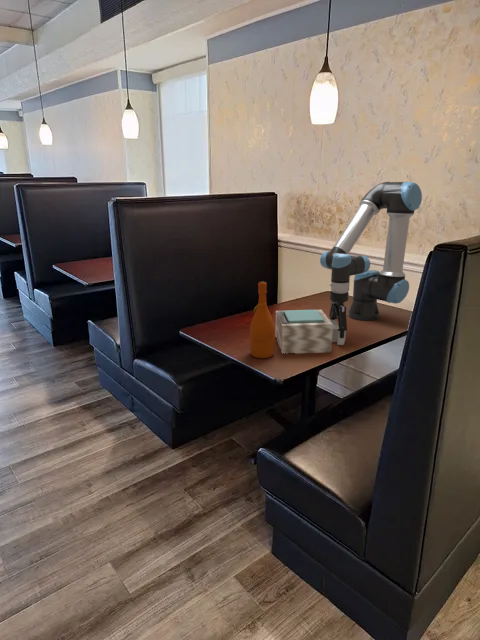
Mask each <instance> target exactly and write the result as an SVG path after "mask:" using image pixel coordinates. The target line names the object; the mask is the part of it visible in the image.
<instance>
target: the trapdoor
mask: <svg viewBox="0 0 480 640" xmlns="http://www.w3.org/2000/svg"><path fill="white" fill-rule="evenodd" d="M317 310H318V309H295V310H294V309H292V310H291V309H290V310H289V309H288V310H287V309H286V310H283V311H284V314H285V316H286V318H287V320H288V322H289V323H311V322H324V320H323V318H322V317H321V316H320V314H319V313H318V312H317Z"/></svg>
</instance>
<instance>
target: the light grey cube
mask: <svg viewBox="0 0 480 640" xmlns="http://www.w3.org/2000/svg"><path fill="white" fill-rule="evenodd" d="M342 328H343V327H342ZM338 329H339V325H338V323H337V324H333V329H332V343H337V341H338ZM346 337H347V331H345V338H344V343H345V342H346Z"/></svg>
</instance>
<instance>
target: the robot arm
mask: <svg viewBox="0 0 480 640" xmlns="http://www.w3.org/2000/svg"><path fill="white" fill-rule="evenodd" d="M422 194H423V193H422V189H421V187H420V186H419V185H418V184H417V183H416V182H412V181H410V182H409V181H383V182H380V183H378V184H377V185H375V186H373V187H372V188H371V189H370V190H369V191H367V193H366V194H365V195H364V196H363V198H362V199H361V201H360V202H359V204H358V205H359V207H358V209H357V211H356V212H355V213H354V215H353V216H352V218H351V219H350V221H349V222H348V223H347V225H346V227H345V229H344V230H343V231H342V232H341V234H340V236H339V238H338V239H337V240H336V242H335V244H334V245H333V247H332V248H331V250H330V251H324V252H322V254H320V257H319V259H320V260H319V262H320V265H321V267H322V268H325V269H328V270H331V279H330V283H329V286H330V290H331V291H330V292H329V293H330V294H329V300H330V301H331V304H330V310H329V315H328V317H329V320H330V321H331V323H332V324H338V325H339V329H338V341H337V342H336V344H337V346H344V345H345V342H344V338H345V331H346V332H347V331H348V324H347V323H348V322H347V315H348V317H350V318H351V319H355V320H359V321H375V320H377V319H379V318H380V310H379V309H380V308H379V306H378V301H383V302H385V303H386V302H387V304H388V303H389V304H400V303H401V302H403V301H404V300H405V298H406V297H407V295H408V293H409V290H410V283H409V281H408V280H407V279H405V278H406V274H405V272H404V271H403V269H404V262H405V254H406V247H407V240H408V233H409V232H408V231H409V225H410V219H411V218H412V216H414V215H415V211H417V210H418V209H419V208H420V206H421V204H422V200H423V195H422ZM383 209H386V215H388V217H389V219H388V226H387V235H386V242H385V250H384V259H383V267H382V270H381V271H379V270H375V269H372V270H370V268H371V261H370V259H369V257H368V256H366V255H357V256H356V255H352V254H350V252H351V250H352V249H353V248H354V246H355V245H356V243H357V241H358V240H359V238H360V237H361V235H362V234H363V232H364V231H365V229H366V228H367V226H368V225H369V224H370V221H371V220H372V219H373V217H374V216H377V215H378V214H379V212H380V211H381V210H383ZM351 276H354V278H353V290H352V301H351V304H350V306H349V309H348V311H347V306H345V305H344V303H346V302H348V301H349V291H350V283H351V281H350V280H351V279H350V278H351ZM347 312H348V313H347ZM342 327H343V328H342Z"/></svg>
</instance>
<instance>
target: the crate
mask: <svg viewBox="0 0 480 640" xmlns="http://www.w3.org/2000/svg"><path fill="white" fill-rule="evenodd" d="M316 310H317V312H318V313H319V314H320V316H321V317H322V318H323V320H324V322H311V323H289V322H288V320H287V318H286V316H285V314H284V310H275V339H276V338H277V339H276V341H277V344H278V347H279V350H280V349H281V350H280V352H281V354H282V355H289V354H288V353H295V354H317V353H318V354H319V353H332V345H333V344H332V343H333V342H332V329H333V324H332V323H331V321H330V320H331V319H330V318H328V317H327V315H326V313H325V312H324V310H322V308H321V309H316ZM283 353H284V354H283ZM285 353H286V354H285Z"/></svg>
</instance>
